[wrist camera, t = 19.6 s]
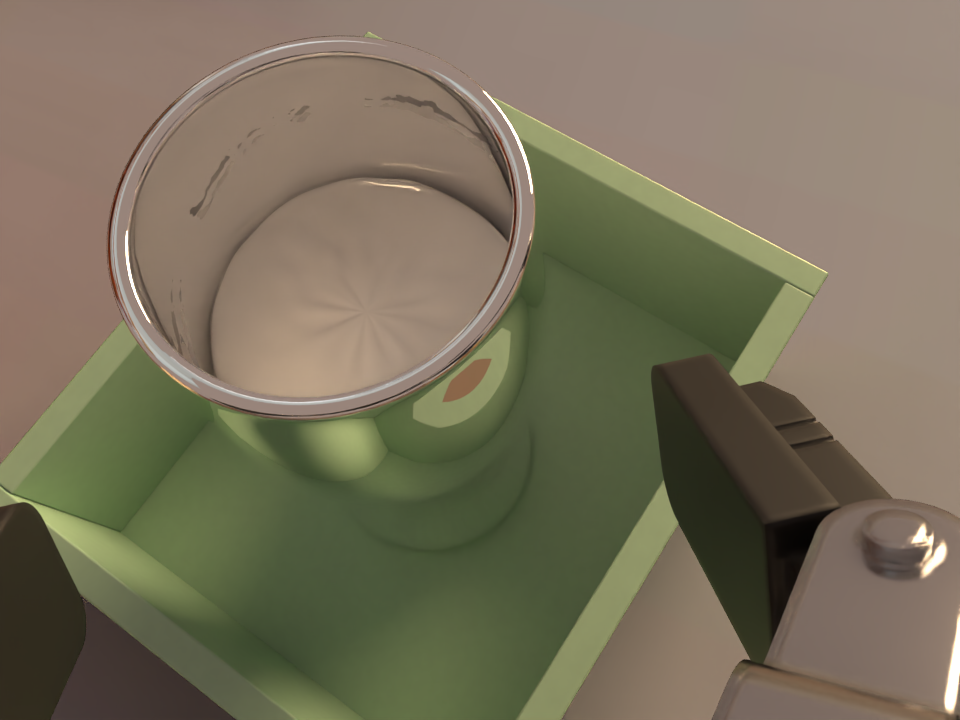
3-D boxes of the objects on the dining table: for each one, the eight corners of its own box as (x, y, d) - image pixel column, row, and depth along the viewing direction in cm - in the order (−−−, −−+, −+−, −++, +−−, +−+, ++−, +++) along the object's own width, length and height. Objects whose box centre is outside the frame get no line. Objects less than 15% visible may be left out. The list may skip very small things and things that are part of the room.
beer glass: (418, 616, 26) (266, 538, 11) (278, 444, 28) (7, 199, 14) (592, 461, 27) (649, 220, 13) (447, 307, 29) (357, -46, 15)
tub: (402, 159, 32) (367, 30, 26) (765, 364, 28) (829, 272, 22) (97, 543, 28) (-35, 503, 21) (477, 838, 24) (454, 895, 18)
